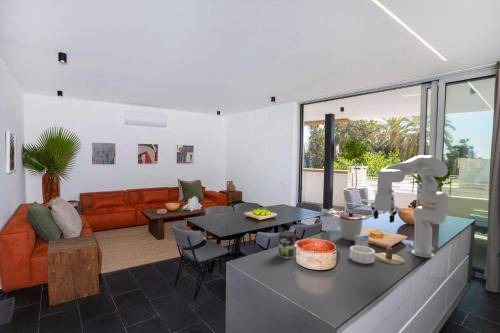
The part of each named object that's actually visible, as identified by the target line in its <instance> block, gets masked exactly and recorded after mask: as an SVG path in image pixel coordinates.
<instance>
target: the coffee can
mask: <svg viewBox="0 0 500 333" xmlns="http://www.w3.org/2000/svg"><path fill="white" fill-rule="evenodd" d="M295 245H296V234H295V232H291V231H280V232H279V233H278V257H280V256H281V257H280V258H282V257H284V258H283V259H292V258H291V257H293V256H294V255H295V253H296V252H295V251H296V250H295V249H296V246H295ZM294 257H295V256H294ZM294 257H293V258H294Z"/></svg>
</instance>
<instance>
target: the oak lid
mask: <svg viewBox="0 0 500 333" xmlns="http://www.w3.org/2000/svg"><path fill="white" fill-rule="evenodd" d="M375 261H378V262H380V263H383V264H388V265H395V266H396V265H397V266H398V265H403V264H405V261H406V260H405V259H404V257H402V256H399V255H398V254H394V253H393V248H392V247H389V246H388V247H387V246H386V247H385V252H375Z"/></svg>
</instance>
